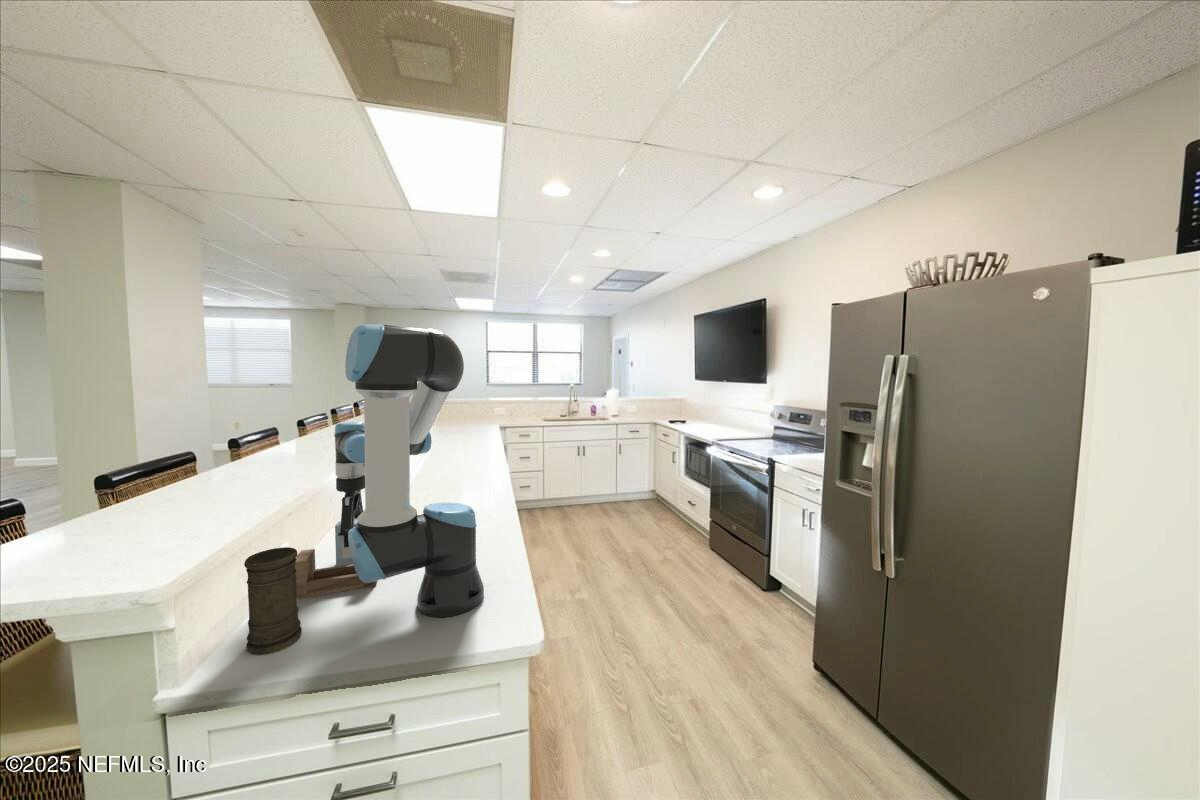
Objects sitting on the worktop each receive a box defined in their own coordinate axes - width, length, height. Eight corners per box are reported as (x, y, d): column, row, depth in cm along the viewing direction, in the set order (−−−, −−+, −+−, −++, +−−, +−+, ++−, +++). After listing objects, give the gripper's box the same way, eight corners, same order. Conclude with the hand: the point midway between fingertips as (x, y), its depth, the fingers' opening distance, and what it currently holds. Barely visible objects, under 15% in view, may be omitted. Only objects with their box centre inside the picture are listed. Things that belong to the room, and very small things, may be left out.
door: (368, 563, 121) (367, 522, 120) (336, 567, 118) (335, 526, 117) (370, 557, 124) (369, 518, 124) (339, 561, 122) (338, 521, 121)
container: (291, 651, 82) (288, 561, 81) (236, 659, 79) (232, 567, 78) (309, 625, 90) (306, 543, 89) (259, 632, 88) (256, 548, 87)
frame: (375, 586, 107) (375, 551, 107) (292, 599, 101) (291, 562, 100) (379, 572, 115) (379, 540, 114) (302, 584, 108) (301, 550, 108)
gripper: (358, 485, 110) (360, 563, 111) (372, 465, 133) (373, 531, 134) (325, 487, 107) (327, 568, 108) (345, 467, 130) (347, 533, 131)
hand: (353, 547), depth 121 cm, fingers open, 13 cm apart
